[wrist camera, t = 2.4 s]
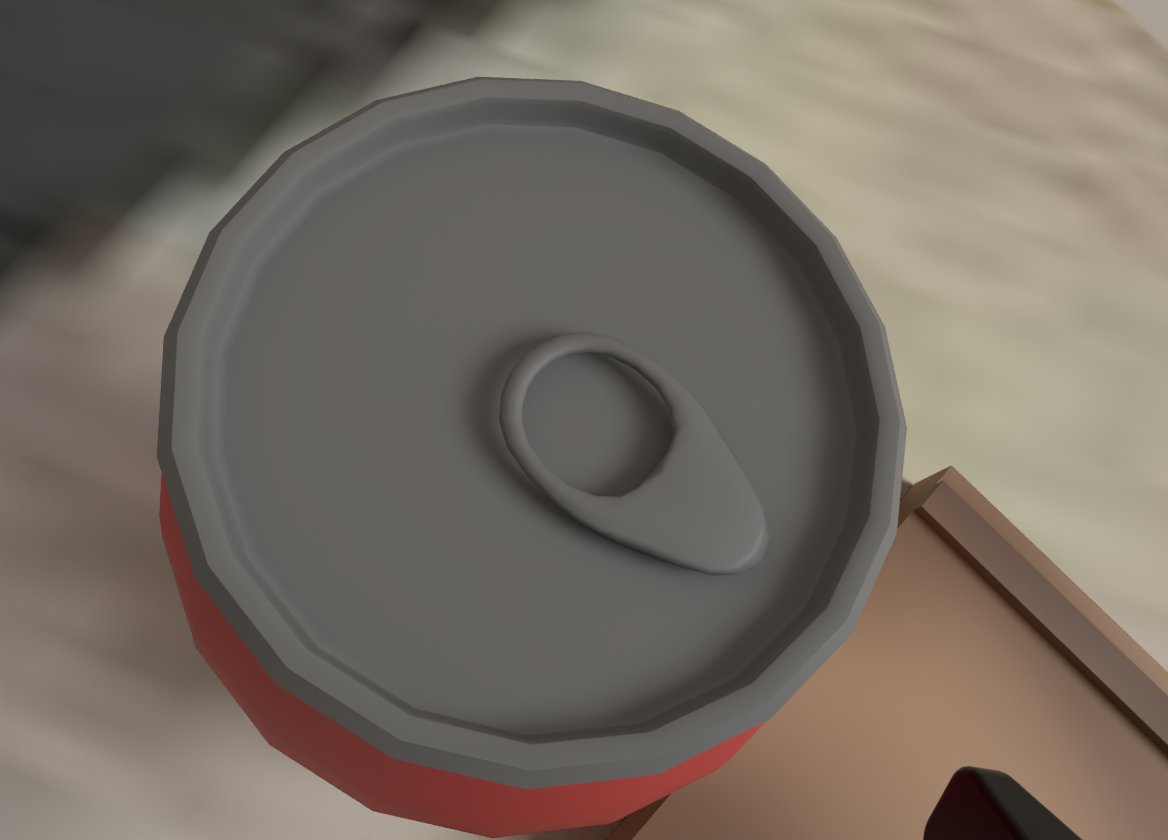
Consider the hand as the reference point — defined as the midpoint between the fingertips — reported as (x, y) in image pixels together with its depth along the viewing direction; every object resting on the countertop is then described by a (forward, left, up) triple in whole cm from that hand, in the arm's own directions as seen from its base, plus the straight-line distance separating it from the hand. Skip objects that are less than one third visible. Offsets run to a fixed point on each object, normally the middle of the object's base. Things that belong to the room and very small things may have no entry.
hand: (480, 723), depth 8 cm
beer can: (+2, +1, -10) cm, 10 cm away
